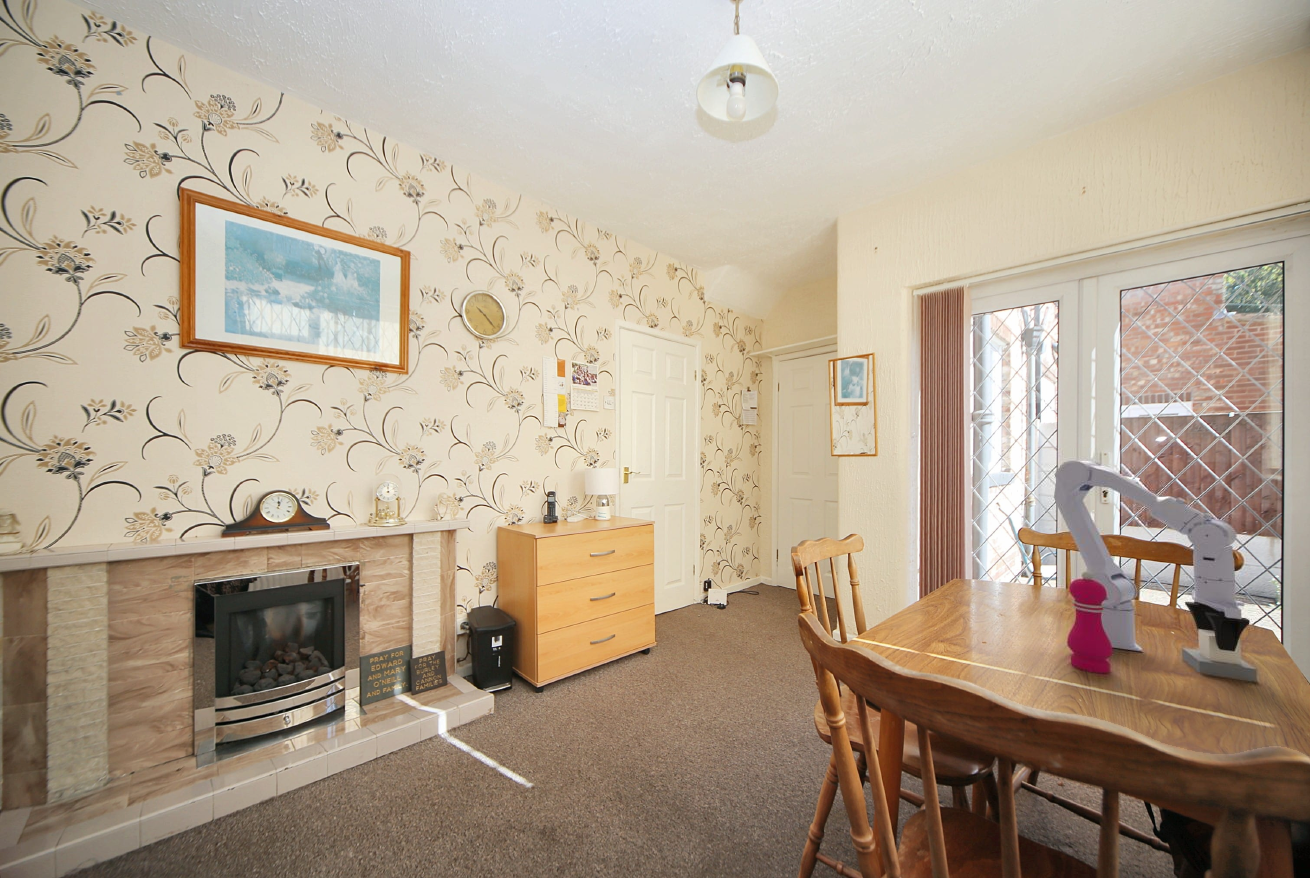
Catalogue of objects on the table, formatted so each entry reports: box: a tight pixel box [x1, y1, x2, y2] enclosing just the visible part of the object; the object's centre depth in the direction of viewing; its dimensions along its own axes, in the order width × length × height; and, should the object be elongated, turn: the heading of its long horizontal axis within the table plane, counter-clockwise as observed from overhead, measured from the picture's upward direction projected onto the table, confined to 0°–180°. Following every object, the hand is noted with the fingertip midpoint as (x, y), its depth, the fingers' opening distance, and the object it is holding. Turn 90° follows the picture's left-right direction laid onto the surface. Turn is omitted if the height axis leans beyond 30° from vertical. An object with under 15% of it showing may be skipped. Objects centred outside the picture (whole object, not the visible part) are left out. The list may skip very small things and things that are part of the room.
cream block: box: [1197, 629, 1242, 665], centre depth 102 cm, size 4×4×5 cm
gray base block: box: [1181, 647, 1258, 683], centre depth 103 cm, size 8×8×3 cm
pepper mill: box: [1066, 571, 1114, 674], centre depth 104 cm, size 7×7×20 cm
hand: (1216, 643), depth 103 cm, fingers open, 7 cm apart
